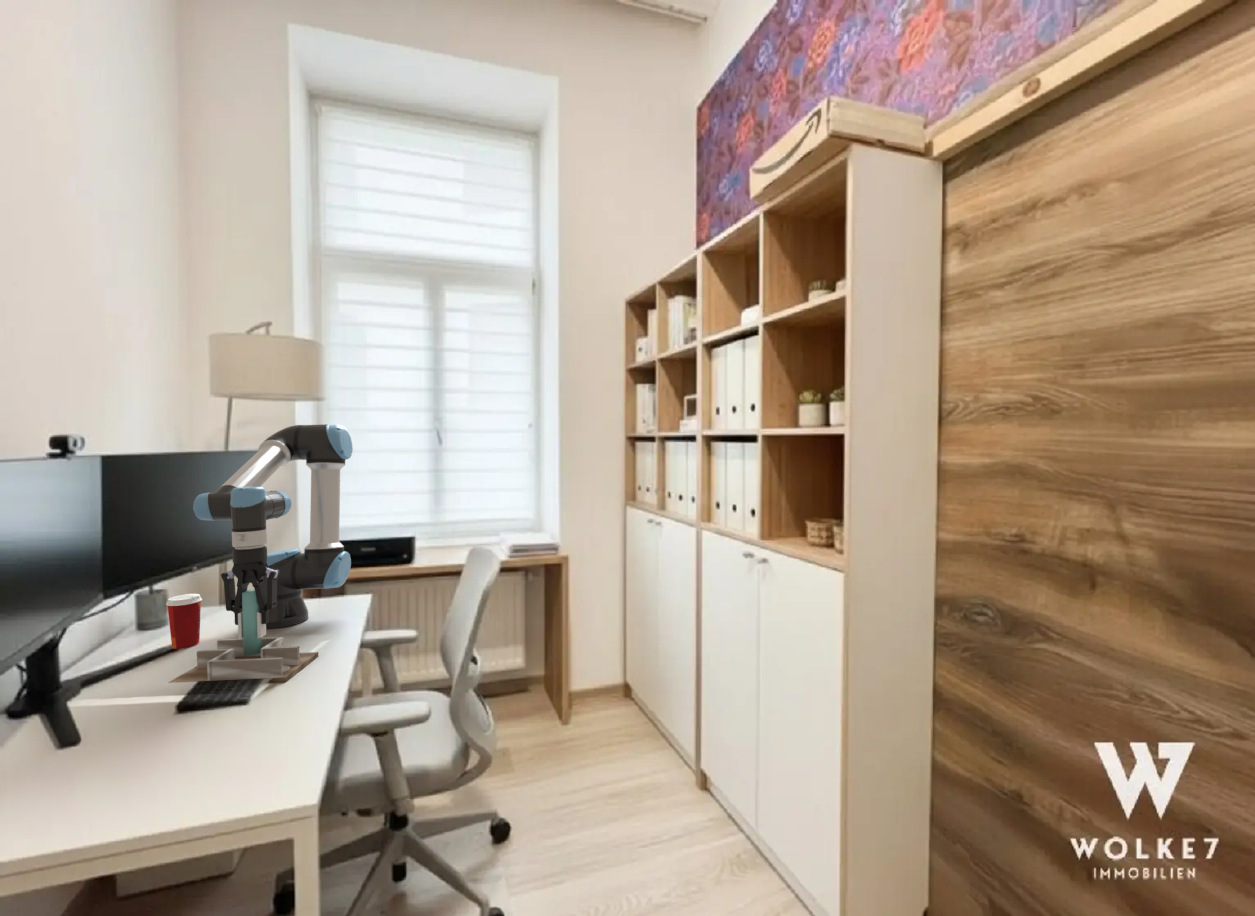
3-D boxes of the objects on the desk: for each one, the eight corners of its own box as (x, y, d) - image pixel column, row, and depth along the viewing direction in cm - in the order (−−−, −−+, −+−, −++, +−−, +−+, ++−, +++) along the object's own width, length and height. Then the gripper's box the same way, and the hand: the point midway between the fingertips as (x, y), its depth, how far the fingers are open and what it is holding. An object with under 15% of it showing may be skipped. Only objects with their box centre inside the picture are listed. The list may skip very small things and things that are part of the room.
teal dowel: (249, 650, 151) (247, 589, 151) (265, 649, 152) (263, 589, 151) (240, 655, 147) (238, 593, 147) (256, 655, 148) (254, 592, 147)
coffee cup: (211, 644, 168) (209, 593, 168) (186, 654, 160) (185, 600, 160) (184, 643, 169) (182, 593, 169) (159, 654, 161) (157, 600, 160)
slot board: (214, 660, 155) (213, 639, 155) (318, 656, 157) (317, 635, 156) (168, 687, 138) (167, 663, 138) (285, 682, 140) (285, 658, 140)
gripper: (205, 550, 145) (208, 642, 145) (276, 548, 146) (278, 640, 146) (224, 545, 152) (227, 633, 153) (291, 543, 153) (294, 630, 154)
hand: (252, 636), depth 149 cm, fingers closed on teal dowel, 4 cm apart
